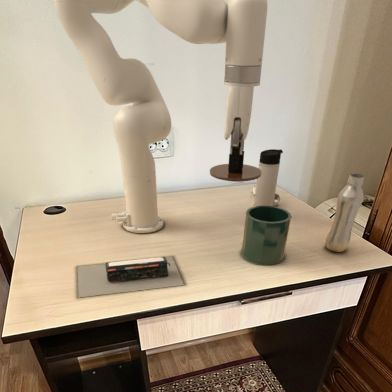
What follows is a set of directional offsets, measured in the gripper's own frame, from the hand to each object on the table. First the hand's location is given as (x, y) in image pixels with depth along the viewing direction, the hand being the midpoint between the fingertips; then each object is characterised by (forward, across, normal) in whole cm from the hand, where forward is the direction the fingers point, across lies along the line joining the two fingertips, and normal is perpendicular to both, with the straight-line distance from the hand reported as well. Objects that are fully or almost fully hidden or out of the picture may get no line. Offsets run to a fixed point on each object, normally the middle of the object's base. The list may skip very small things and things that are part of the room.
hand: (235, 170), depth 88 cm
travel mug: (+22, -28, +8) cm, 36 cm away
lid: (+1, 0, 0) cm, 1 cm away
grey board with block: (+21, +18, -24) cm, 37 cm away
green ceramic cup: (+22, 0, +9) cm, 23 cm away
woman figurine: (+21, -43, +8) cm, 49 cm away
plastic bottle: (+22, -8, +30) cm, 38 cm away
